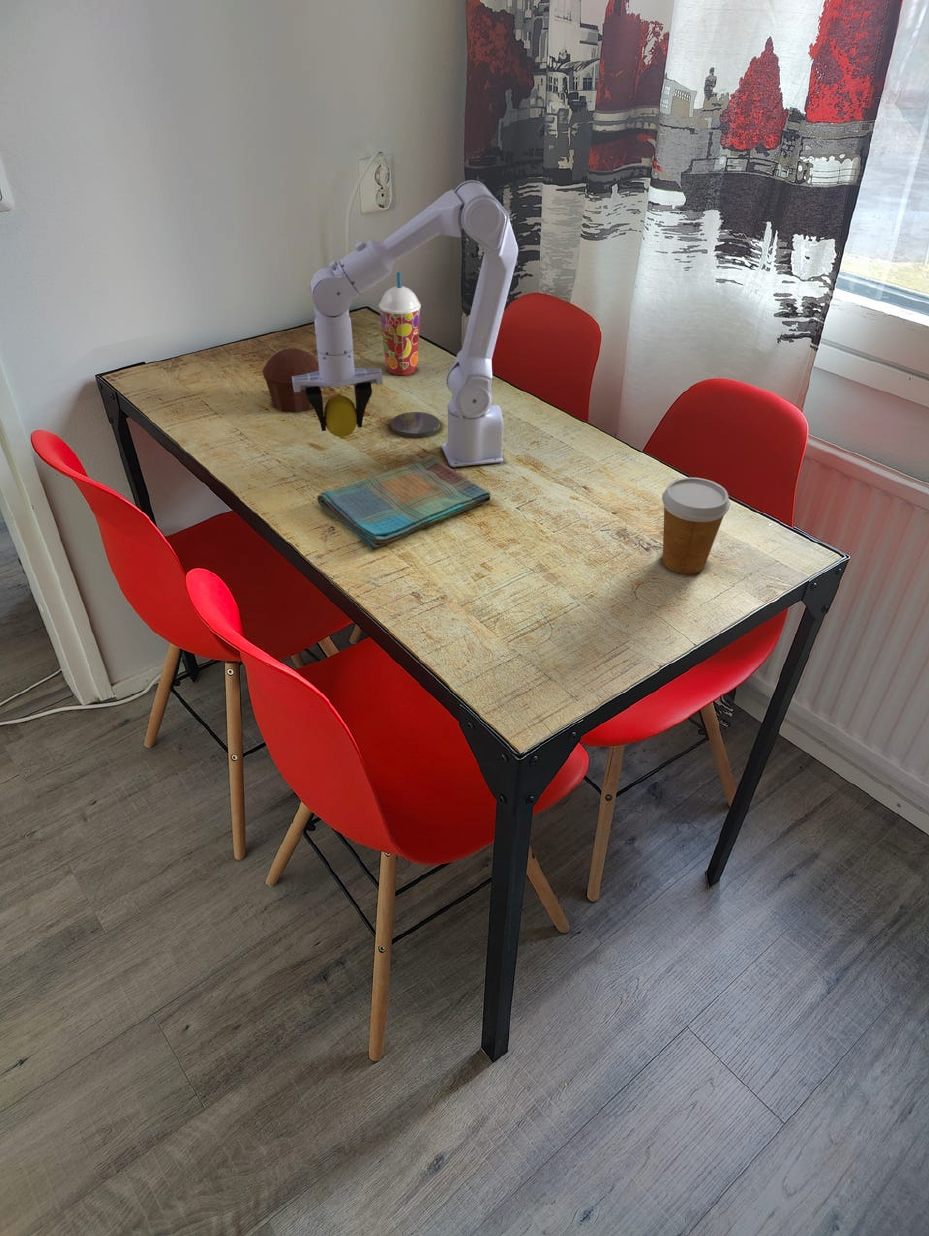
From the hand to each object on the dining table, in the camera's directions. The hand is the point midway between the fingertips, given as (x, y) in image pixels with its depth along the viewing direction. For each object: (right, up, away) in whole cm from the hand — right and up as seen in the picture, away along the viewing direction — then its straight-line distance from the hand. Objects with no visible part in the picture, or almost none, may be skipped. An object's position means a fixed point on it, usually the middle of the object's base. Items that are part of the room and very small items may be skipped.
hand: (341, 426), depth 152 cm
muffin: (-12, +10, +24) cm, 29 cm away
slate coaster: (+12, +4, +17) cm, 21 cm away
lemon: (0, -2, +2) cm, 2 cm away
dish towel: (+11, -14, -5) cm, 18 cm away
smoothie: (+8, +20, +37) cm, 42 cm away
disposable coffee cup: (+54, -24, -17) cm, 61 cm away
